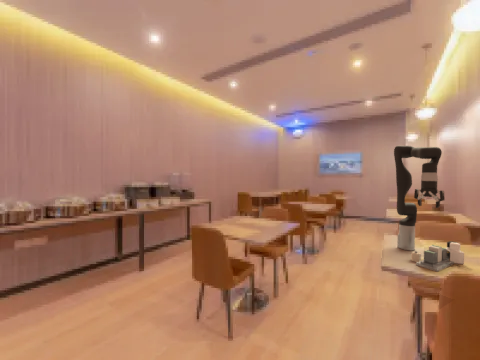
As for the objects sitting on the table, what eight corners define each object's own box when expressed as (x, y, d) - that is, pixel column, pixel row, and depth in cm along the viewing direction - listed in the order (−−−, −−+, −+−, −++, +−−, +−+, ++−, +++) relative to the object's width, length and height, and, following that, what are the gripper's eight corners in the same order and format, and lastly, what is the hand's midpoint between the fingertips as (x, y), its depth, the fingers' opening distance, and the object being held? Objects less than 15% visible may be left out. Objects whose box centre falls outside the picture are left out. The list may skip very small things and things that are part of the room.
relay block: (411, 260, 139) (411, 251, 139) (412, 258, 142) (412, 249, 142) (419, 262, 136) (419, 253, 136) (420, 260, 139) (420, 251, 139)
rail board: (415, 265, 132) (416, 250, 132) (433, 258, 143) (433, 244, 142) (437, 271, 123) (437, 255, 123) (453, 264, 134) (454, 249, 134)
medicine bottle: (442, 258, 142) (443, 240, 142) (456, 259, 140) (457, 241, 140) (449, 262, 136) (450, 243, 135) (464, 264, 134) (464, 244, 133)
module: (428, 259, 134) (428, 245, 134) (432, 258, 136) (432, 244, 136) (437, 262, 130) (438, 248, 130) (441, 260, 132) (442, 246, 132)
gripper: (412, 179, 140) (411, 205, 140) (441, 180, 127) (440, 208, 128) (418, 179, 143) (417, 204, 144) (447, 180, 131) (446, 208, 131)
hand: (428, 206), depth 136 cm, fingers open, 8 cm apart
